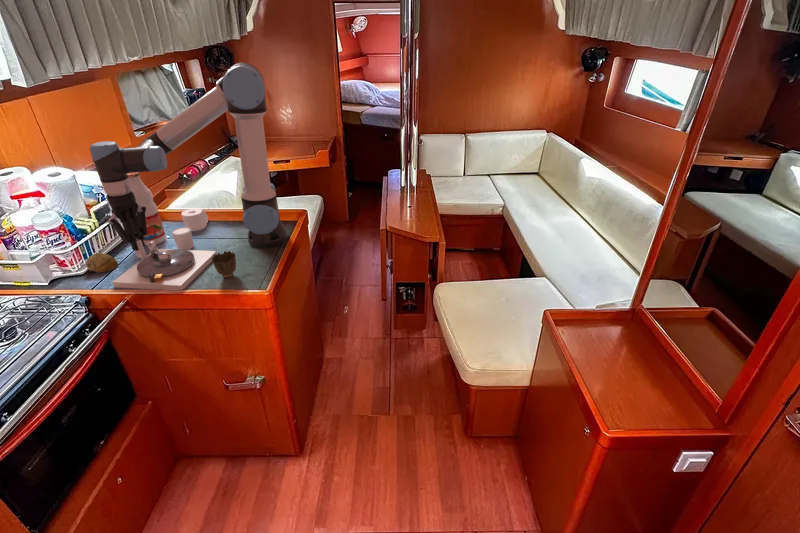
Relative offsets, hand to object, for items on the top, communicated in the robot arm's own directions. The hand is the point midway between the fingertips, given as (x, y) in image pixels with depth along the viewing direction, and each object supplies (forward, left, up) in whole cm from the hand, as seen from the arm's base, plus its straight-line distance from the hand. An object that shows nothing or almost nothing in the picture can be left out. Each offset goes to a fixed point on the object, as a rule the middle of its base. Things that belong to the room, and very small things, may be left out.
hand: (142, 257), depth 147 cm
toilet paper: (+1, -39, -6) cm, 39 cm away
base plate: (-8, -1, -6) cm, 10 cm away
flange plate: (-8, 0, -3) cm, 8 cm away
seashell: (+17, -1, -6) cm, 18 cm away
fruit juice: (+12, -23, -6) cm, 27 cm away
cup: (-31, +1, -6) cm, 31 cm away
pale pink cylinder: (-4, -19, -6) cm, 20 cm away
